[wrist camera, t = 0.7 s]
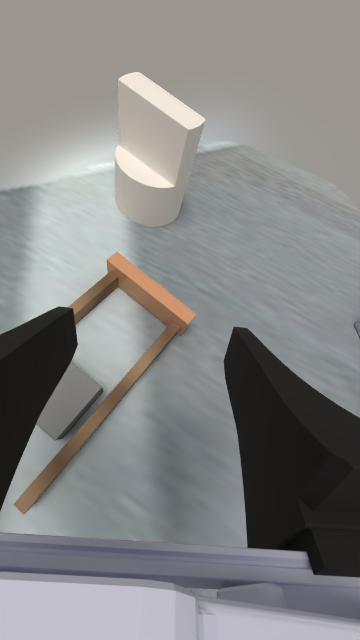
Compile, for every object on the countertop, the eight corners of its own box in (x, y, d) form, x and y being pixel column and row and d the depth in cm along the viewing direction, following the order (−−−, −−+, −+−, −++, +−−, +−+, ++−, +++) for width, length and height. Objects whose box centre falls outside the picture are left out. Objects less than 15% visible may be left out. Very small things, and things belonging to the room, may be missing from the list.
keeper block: (63, 438, 21) (55, 440, 19) (11, 395, 22) (-4, 391, 19) (103, 391, 24) (101, 387, 21) (56, 353, 24) (48, 343, 21)
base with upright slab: (191, 205, 36) (223, 111, 25) (153, 238, 32) (171, 143, 21) (144, 170, 37) (155, 63, 26) (101, 198, 33) (92, 86, 22)
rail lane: (37, 510, 19) (21, 526, 16) (-60, 421, 20) (-93, 420, 17) (187, 326, 28) (196, 314, 25) (117, 270, 29) (117, 251, 26)
